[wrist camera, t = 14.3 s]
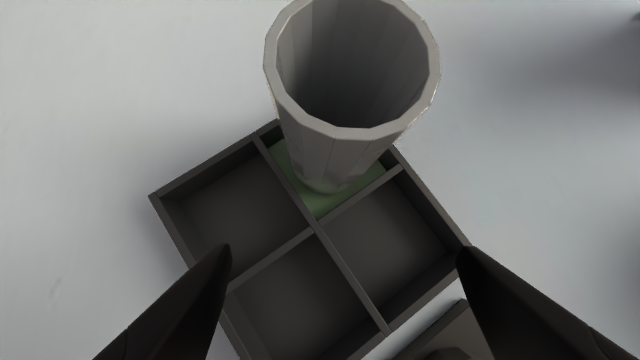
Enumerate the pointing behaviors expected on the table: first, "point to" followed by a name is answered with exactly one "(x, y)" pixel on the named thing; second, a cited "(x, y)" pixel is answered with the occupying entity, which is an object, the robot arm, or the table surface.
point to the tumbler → (347, 84)
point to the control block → (450, 338)
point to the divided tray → (312, 249)
